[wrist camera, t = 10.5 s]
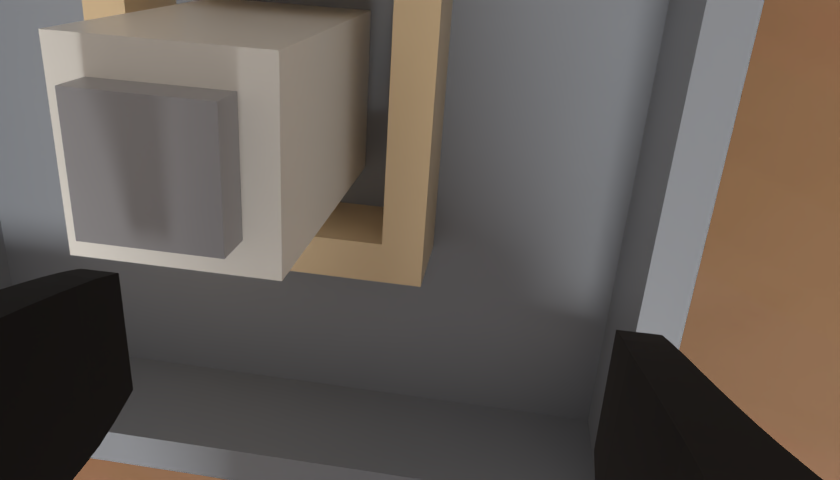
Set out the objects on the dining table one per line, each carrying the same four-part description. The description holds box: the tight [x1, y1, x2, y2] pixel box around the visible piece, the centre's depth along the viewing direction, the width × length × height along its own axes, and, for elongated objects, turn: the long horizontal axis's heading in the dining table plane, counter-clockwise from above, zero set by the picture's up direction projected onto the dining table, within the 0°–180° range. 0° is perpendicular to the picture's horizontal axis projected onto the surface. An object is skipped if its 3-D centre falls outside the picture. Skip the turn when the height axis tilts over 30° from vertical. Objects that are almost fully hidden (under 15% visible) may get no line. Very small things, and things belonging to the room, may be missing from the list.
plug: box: [38, 0, 371, 281], centre depth 15 cm, size 4×4×8 cm
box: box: [0, 0, 764, 480], centre depth 17 cm, size 20×20×4 cm
